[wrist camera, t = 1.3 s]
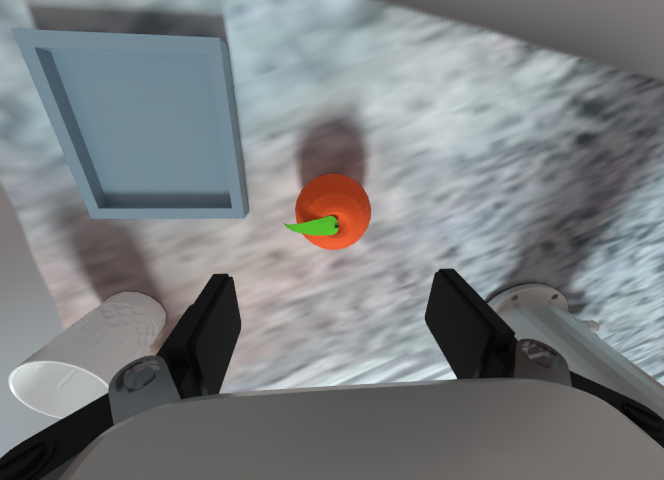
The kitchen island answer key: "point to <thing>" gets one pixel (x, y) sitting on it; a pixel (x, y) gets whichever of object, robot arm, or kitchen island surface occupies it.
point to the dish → (142, 121)
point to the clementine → (332, 211)
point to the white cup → (88, 355)
